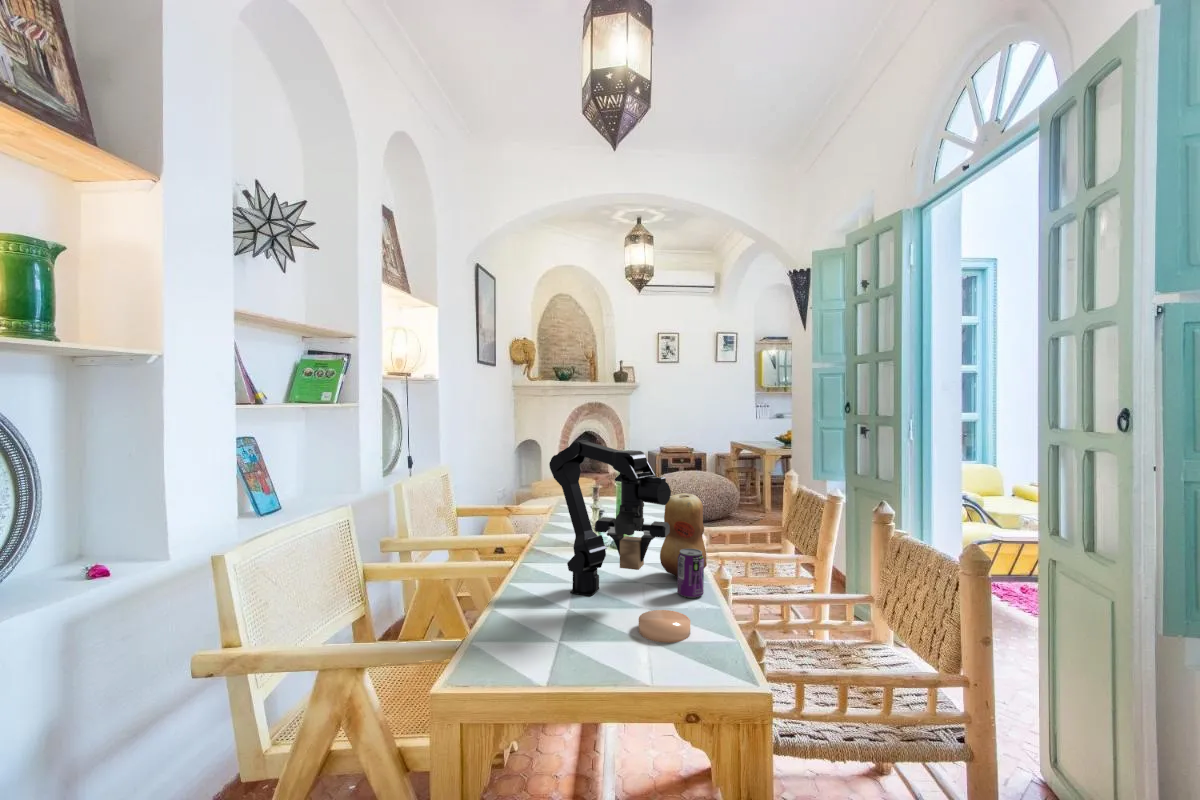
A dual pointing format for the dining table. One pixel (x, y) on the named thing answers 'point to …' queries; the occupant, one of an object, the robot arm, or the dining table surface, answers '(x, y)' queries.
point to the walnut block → (630, 553)
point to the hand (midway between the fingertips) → (631, 560)
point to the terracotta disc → (664, 626)
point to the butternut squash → (682, 530)
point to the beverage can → (690, 573)
